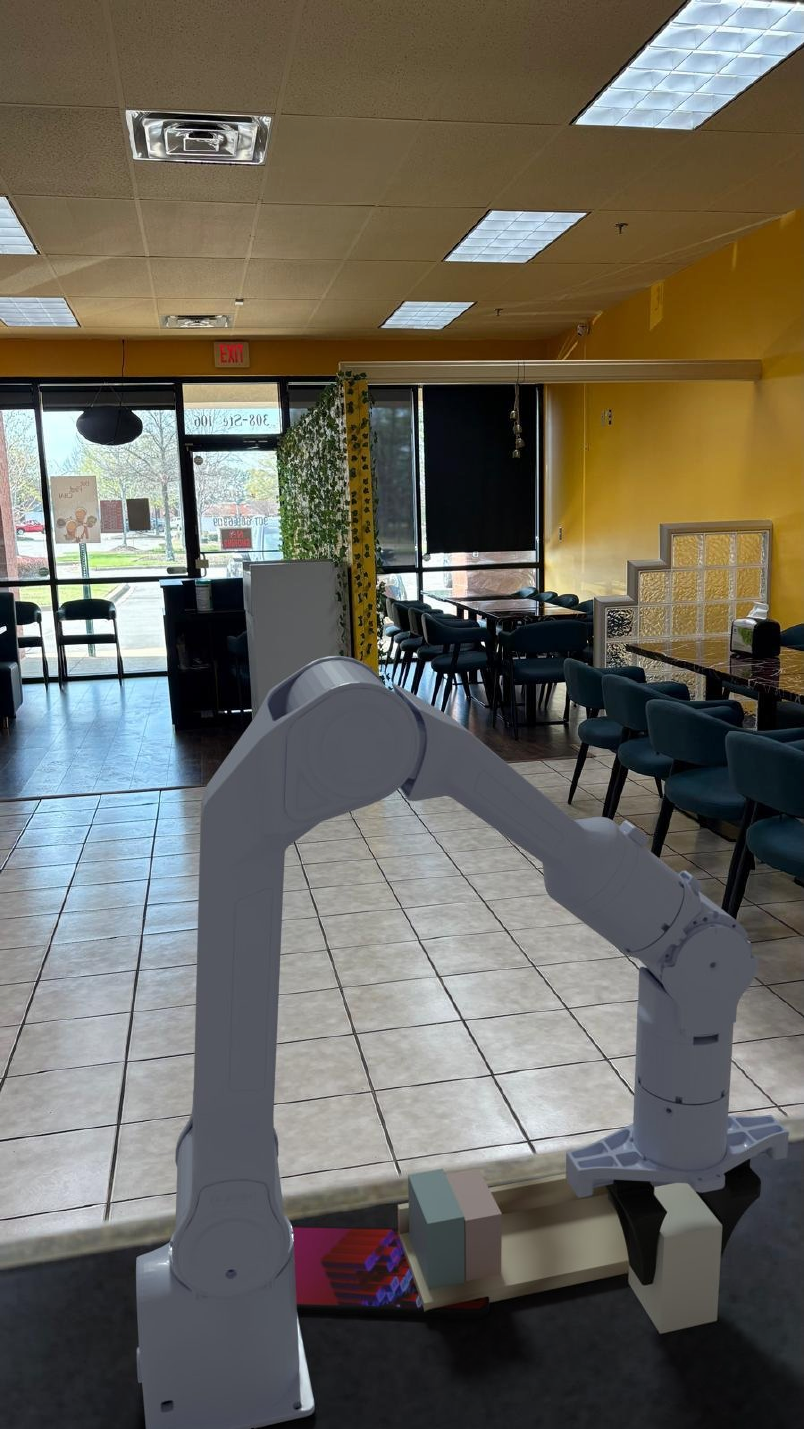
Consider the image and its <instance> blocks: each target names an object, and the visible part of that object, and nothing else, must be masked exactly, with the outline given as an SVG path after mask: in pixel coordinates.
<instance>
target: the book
mask: <svg viewBox="0 0 804 1429" xmlns="http://www.w3.org/2000/svg"><path fill="white" fill-rule="evenodd" d="M654 1195H655V1196H656V1197H657V1199H658V1200H659V1201H660V1203H661V1204H662V1205H663V1207H664V1208H665V1210H666V1211H667V1214H666V1216H665V1218H664V1220H663V1223H662V1226H661V1229H660V1233H659V1237H658V1242H657V1249H656V1271H655V1276H654V1281H653V1284H650V1285H646V1286H644V1285H642V1284H641V1282H640V1281H639V1279H638V1278H637V1276H636V1275H635V1273H634V1271H633V1270H632V1268H631V1267H630V1265H629V1273H628V1280H627V1281H628V1284H629V1286H630V1288H631V1290H632V1291H633V1293H634V1294H635V1296H636V1297H637V1299H638V1301H639V1302H640V1304H641V1306H642V1307H643V1309H644V1310H645V1312H646V1314H647V1315H648V1317H649V1319H650V1320H651V1321H652V1323H653V1325H654V1326H655V1328H656V1330H657V1331H658V1333H659V1334H660V1335H661V1334H665V1333H669V1332H674V1331H678V1330H682V1329H687V1328H692V1327H695V1326H699V1325H705V1324H708V1323H713V1322H717V1320H718V1311H719V1310H718V1306H719V1289H720V1274H721V1272H720V1271H721V1261H720V1258H721V1241H722V1224H721V1223H720V1222H719V1221H718V1219H717V1218H716V1217H715V1216H714V1214H713V1213H712V1212H711V1211H710V1209H709V1208H708V1207H707V1206H706V1204H705V1203H704V1202H703V1201H702V1199H701V1198H700V1197H699V1196H698V1194H697V1193H696V1192H695V1191H694V1189H692V1188H691V1186H690V1185H689V1184H687V1183H669V1184H663V1185H659V1186H654ZM721 1259H722V1258H721Z"/></svg>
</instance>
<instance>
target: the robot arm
mask: <svg viewBox="0 0 804 1429" xmlns="http://www.w3.org/2000/svg"><path fill="white" fill-rule="evenodd" d="M391 687H392V688H393V690H391V689H390V688H388V687H387V686H386V685H385V684H384V681H383V680H382V678H381V677H380V676H379V675H378V674H377V673H376V671H375V670H374V669H372V668H371V667H370V666H369V665H368V664H366V663H364V662H362V661H360V660H358V659H356V658H354V657H349V656H345V655H344V656H343V655H342V656H341V655H330V656H325V657H321V658H318V659H315V660H313V661H311V662H309V663H307V664H306V665H304V666H303V667H301V668H300V669H298V670H297V671H295V672H294V673H292V674H290V676H288V677H287V678H285V679H283V680H282V681H281V682H279V683H278V684H275V685H274V686H273V687H272V688H270V689H269V691H268V692H267V694H266V696H265V698H264V699H263V702H262V703H261V706H260V708H259V709H258V710H257V713H256V715H255V716H254V717H253V719H252V721H251V722H250V724H249V725H248V727H247V728H246V729H245V731H244V732H243V733H242V735H241V736H240V738H239V739H238V740H237V742H236V743H235V744H234V746H233V748H232V749H231V751H230V752H229V753H228V755H227V756H226V758H225V759H224V761H223V762H222V763H221V764H220V766H219V768H218V769H217V771H216V772H215V773H214V775H213V776H212V778H210V781H208V783H207V784H206V786H205V788H204V790H203V794H202V798H201V802H200V819H199V820H200V824H199V826H200V828H199V830H200V831H199V835H200V836H199V862H198V864H199V865H198V866H199V867H198V868H199V869H198V902H197V903H198V905H197V907H198V908H197V940H196V941H197V942H196V943H197V944H196V945H197V946H196V981H195V982H196V983H195V1017H194V1018H195V1019H194V1020H195V1022H194V1057H193V1058H194V1059H193V1091H192V1105H191V1106H192V1107H191V1113H190V1115H189V1119H188V1121H187V1123H186V1124H185V1125H184V1128H183V1130H182V1131H181V1132H180V1135H179V1136H178V1139H177V1142H176V1147H175V1165H176V1171H177V1172H176V1194H175V1198H176V1199H175V1223H174V1225H175V1226H174V1227H175V1228H174V1232H172V1234H171V1238H170V1241H169V1242H167V1243H166V1244H165V1245H163V1246H161V1247H159V1248H156V1249H154V1250H153V1251H149V1252H147V1253H144V1254H141V1255H138V1256H137V1257H136V1259H135V1260H136V1262H135V1263H136V1266H135V1279H136V1280H135V1285H136V1286H135V1290H136V1292H135V1294H136V1296H135V1297H136V1313H137V1314H136V1315H137V1316H136V1317H137V1335H138V1336H137V1338H138V1347H137V1348H136V1372H137V1381H138V1383H139V1384H141V1383H142V1384H141V1385H142V1386H141V1387H142V1396H143V1398H142V1399H143V1407H144V1408H143V1409H144V1421H145V1429H251V1428H254V1429H257V1428H262V1427H266V1426H269V1425H275V1424H278V1423H283V1422H287V1421H292V1420H297V1419H301V1418H306V1417H308V1416H309V1417H310V1415H312V1414H313V1413H314V1412H315V1399H314V1394H313V1389H312V1384H311V1378H310V1373H309V1368H308V1362H307V1357H306V1351H305V1348H304V1342H303V1335H302V1330H301V1326H300V1321H299V1315H298V1313H297V1304H296V1282H295V1260H294V1234H293V1229H292V1226H293V1225H292V1223H291V1221H290V1220H289V1218H288V1216H286V1214H285V1211H284V1210H285V1209H284V1203H283V1193H282V1185H281V1184H282V1183H281V1177H280V1176H281V1175H280V1168H279V1159H278V1158H279V1140H278V1139H279V1138H278V1133H277V1131H276V1129H275V1127H274V1126H275V1124H274V1123H275V1122H274V1116H275V1115H274V1114H275V1110H274V1109H275V1092H276V1089H275V1088H276V1087H275V1086H276V1070H277V1069H276V1068H277V1067H276V1066H277V1060H276V1059H277V1044H278V1021H279V1020H278V1018H279V1017H278V1016H279V996H280V995H279V994H280V974H281V972H280V971H281V950H282V949H281V946H282V930H283V929H282V925H283V924H282V923H283V901H284V900H283V899H284V882H285V881H284V880H285V879H284V878H285V877H284V876H285V855H286V854H285V853H286V851H287V849H288V848H289V847H290V846H291V845H292V844H294V843H295V842H296V841H298V840H299V839H300V838H302V837H303V836H305V834H307V833H308V832H310V831H311V830H312V829H314V828H315V827H317V825H319V824H321V823H322V822H324V821H328V820H330V819H333V818H336V817H339V816H342V815H345V814H348V813H351V812H353V811H356V810H360V809H362V808H364V807H368V806H370V805H372V804H375V803H377V802H380V801H381V800H383V799H385V798H388V797H389V796H391V795H392V794H393V793H396V792H397V791H398V789H400V790H401V792H402V793H403V795H404V796H405V798H406V799H407V800H408V801H409V802H419V801H424V800H430V799H435V798H442V797H449V798H451V799H453V800H454V801H456V802H457V803H458V804H460V805H461V806H463V807H464V808H466V809H467V810H468V811H469V812H471V813H472V814H474V815H475V816H476V817H478V818H480V819H481V820H482V821H484V822H485V823H486V824H488V825H489V826H490V827H492V828H493V829H495V830H496V831H498V832H499V833H500V834H502V835H503V836H505V837H506V838H507V839H509V840H510V841H511V842H513V843H514V844H516V845H517V846H519V847H520V848H521V849H523V851H526V852H527V853H528V854H529V855H531V856H532V857H534V858H535V859H536V860H538V861H539V862H541V863H542V871H543V883H544V888H545V891H546V893H547V895H548V896H549V897H550V899H552V900H553V901H554V902H556V903H557V904H559V905H560V906H561V907H562V908H564V909H565V910H566V911H568V912H569V913H570V914H572V915H574V916H575V917H576V918H577V919H578V920H580V921H581V922H582V923H584V924H585V925H587V927H588V928H590V929H591V930H593V931H594V932H596V933H597V934H598V935H599V936H600V937H602V938H603V939H605V941H607V942H609V943H610V944H611V945H613V946H614V947H615V948H616V949H618V950H619V951H620V952H621V953H622V954H624V955H626V956H629V957H631V958H635V959H638V960H639V962H641V963H642V965H643V966H639V969H638V992H637V994H638V995H637V1010H636V1012H637V1013H636V1036H635V1038H636V1039H635V1040H636V1042H635V1065H634V1066H635V1067H634V1070H635V1071H634V1090H633V1091H634V1092H633V1116H632V1117H633V1120H632V1123H631V1124H629V1125H626V1126H624V1127H623V1128H621V1129H619V1130H617V1131H615V1132H613V1133H610V1134H609V1135H607V1136H605V1137H603V1138H601V1139H599V1140H597V1141H595V1142H593V1143H591V1144H588V1145H586V1146H582V1147H580V1148H575V1149H573V1150H568V1151H566V1154H565V1174H566V1179H567V1181H568V1182H569V1184H570V1186H571V1188H572V1189H573V1191H574V1192H575V1194H576V1195H577V1197H578V1198H581V1197H586V1196H591V1195H593V1187H599V1186H604V1185H605V1187H606V1189H607V1191H608V1193H609V1195H610V1198H611V1200H612V1202H613V1205H614V1207H615V1210H616V1212H617V1215H618V1218H619V1221H620V1224H621V1227H622V1230H623V1234H624V1238H625V1243H626V1247H627V1253H628V1259H629V1265H630V1267H631V1268H632V1270H633V1271H634V1273H635V1275H636V1276H637V1278H638V1279H639V1281H640V1282H641V1284H642V1285H644V1286H646V1285H650V1284H653V1281H654V1276H655V1271H656V1249H657V1242H658V1237H659V1233H660V1229H661V1226H662V1223H663V1220H664V1218H665V1216H666V1214H667V1211H666V1210H665V1208H664V1207H663V1205H662V1204H661V1203H660V1201H659V1200H658V1199H657V1197H656V1196H655V1195H654V1187H655V1186H654V1185H652V1183H651V1182H654V1183H656V1182H657V1183H670V1184H673V1183H687V1184H689V1185H690V1186H691V1188H692V1189H694V1191H695V1192H696V1193H697V1194H698V1196H699V1197H700V1198H701V1199H702V1201H703V1202H704V1203H705V1204H706V1206H707V1207H708V1208H709V1209H710V1211H711V1212H712V1213H713V1214H714V1216H715V1217H716V1218H717V1219H718V1221H719V1222H720V1223H721V1224H722V1241H721V1258H720V1262H721V1260H722V1258H723V1255H724V1253H725V1251H726V1247H727V1245H728V1244H729V1241H730V1239H731V1237H732V1234H733V1232H734V1230H735V1228H736V1226H737V1225H738V1223H739V1221H740V1219H741V1218H742V1217H743V1216H744V1214H745V1212H747V1210H748V1209H749V1207H751V1206H752V1205H753V1203H755V1201H757V1200H758V1199H759V1198H760V1197H761V1190H762V1188H761V1187H762V1180H761V1178H760V1177H759V1175H758V1174H757V1173H756V1172H755V1171H754V1169H753V1168H752V1167H751V1158H756V1157H760V1156H765V1155H766V1156H768V1157H769V1159H771V1160H774V1161H778V1160H782V1159H787V1158H788V1147H789V1136H790V1135H789V1134H790V1133H789V1132H790V1131H788V1129H787V1128H785V1126H783V1125H782V1124H781V1123H780V1122H779V1121H778V1119H776V1118H775V1117H774V1116H773V1115H772V1114H765V1115H758V1116H757V1115H756V1116H739V1115H738V1116H737V1115H736V1116H735V1115H729V1106H730V1089H731V1077H732V1075H731V1074H732V1072H731V1071H732V1058H733V1057H732V1056H733V1039H734V1025H735V1023H736V1022H737V1014H738V1013H737V1012H738V1004H739V1002H740V1000H741V998H742V996H743V995H744V994H745V993H746V992H747V991H748V989H749V987H751V984H752V982H753V981H754V979H755V976H756V974H757V972H758V968H759V964H760V958H759V957H758V956H755V954H754V953H752V943H751V941H749V940H748V938H749V934H748V933H747V930H746V929H745V928H744V927H743V925H742V924H741V923H740V922H739V921H738V920H736V919H735V918H734V917H732V916H731V915H730V914H729V913H727V912H726V911H725V910H724V909H722V907H720V906H719V905H718V904H716V903H715V902H713V901H712V900H711V899H710V898H709V897H707V896H706V895H704V894H703V893H702V892H701V890H702V889H703V884H702V882H701V881H699V880H698V879H697V878H696V877H694V876H693V874H691V873H690V872H689V871H687V870H681V872H679V873H678V872H676V871H675V869H673V868H671V866H669V865H668V864H666V863H665V862H664V861H663V860H661V859H660V858H659V857H658V856H657V855H656V854H654V853H653V852H652V851H650V849H648V848H647V847H646V845H647V844H648V842H649V841H650V839H649V836H648V835H647V834H645V833H644V832H643V831H642V830H640V829H639V828H638V827H637V826H635V825H634V824H633V823H631V822H630V821H629V820H624V821H622V823H621V824H620V825H619V824H618V823H616V822H615V821H614V820H612V819H610V818H608V817H603V816H594V817H587V818H578V819H577V818H576V819H574V818H572V817H571V816H570V815H569V814H567V813H566V812H565V810H563V809H562V808H561V807H559V806H558V805H557V804H556V803H554V801H552V800H551V799H550V798H549V797H548V796H546V795H545V794H544V793H543V792H542V791H540V790H539V789H538V788H537V787H536V786H534V785H533V784H532V783H531V782H529V780H527V779H526V778H525V777H524V776H523V775H521V774H520V773H519V772H518V771H517V770H516V769H514V768H513V767H512V766H511V765H510V764H509V763H507V762H506V761H505V759H502V757H500V756H499V755H498V754H496V753H495V752H494V751H493V750H492V749H491V748H489V746H487V745H486V744H485V743H484V742H482V741H481V740H480V739H479V738H478V737H476V736H475V735H474V734H473V733H472V732H470V731H469V730H468V729H467V728H466V727H465V726H464V725H462V724H461V723H460V722H459V721H457V720H456V719H454V718H453V717H451V716H450V715H449V714H447V713H445V712H443V711H442V710H440V709H439V708H437V707H435V706H433V705H432V704H431V703H429V702H427V701H426V700H424V699H422V698H421V697H419V696H418V695H415V694H414V693H412V692H411V691H409V690H407V689H406V688H403V687H402V686H400V685H398V684H397V683H394V682H391ZM296 1408H298V1409H296Z"/></svg>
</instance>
